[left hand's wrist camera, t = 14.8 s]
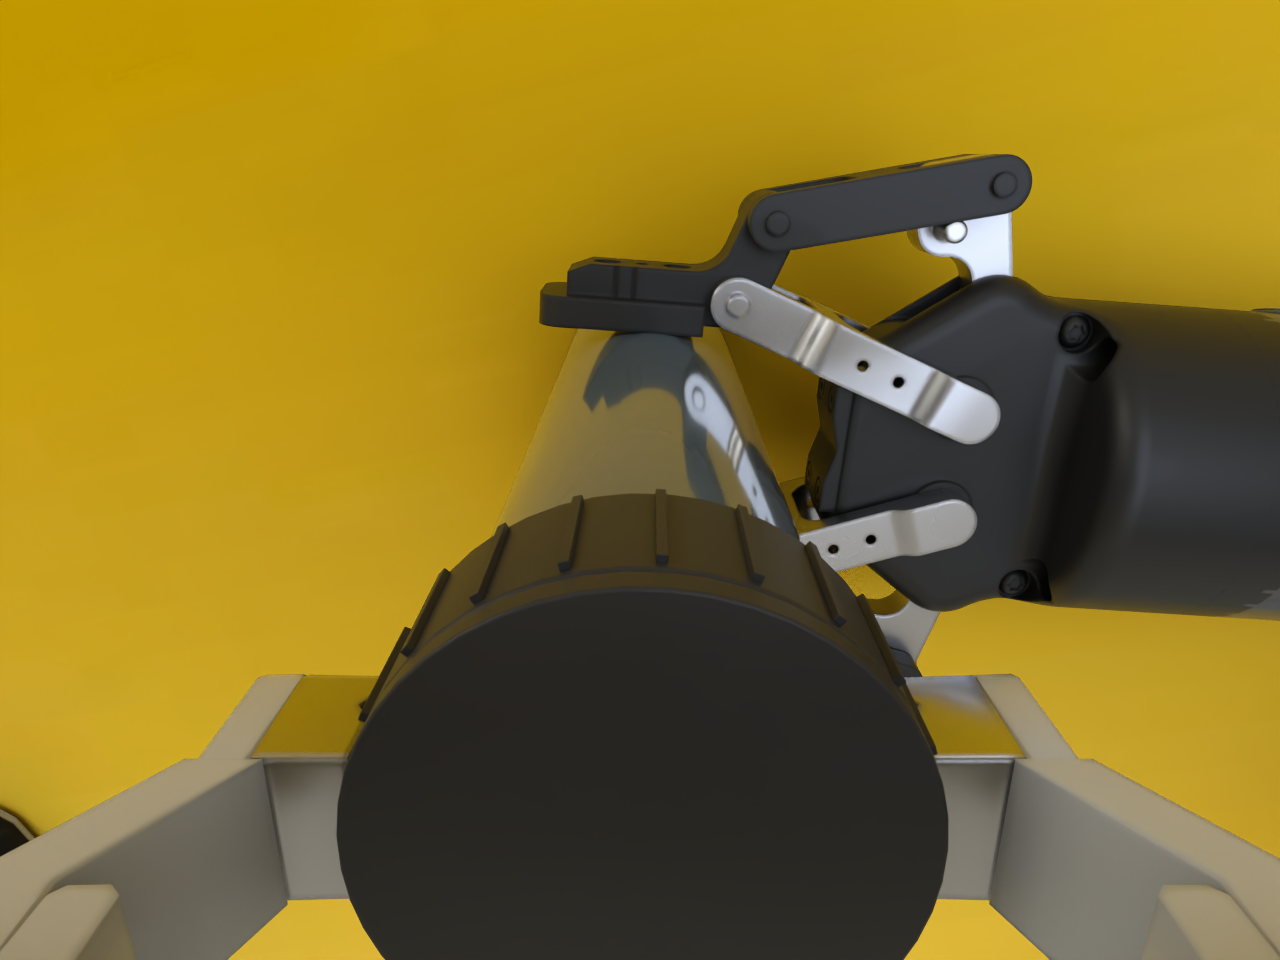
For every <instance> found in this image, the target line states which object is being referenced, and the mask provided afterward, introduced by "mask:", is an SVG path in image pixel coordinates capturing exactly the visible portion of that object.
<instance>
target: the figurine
mask: <svg viewBox="0 0 1280 960" xmlns="http://www.w3.org/2000/svg"><path fill="white" fill-rule="evenodd" d="M33 839H35V838H34V837H33V835H32V834H31V833H30V832H29V831H28V830H27V829H26V828H25V827H24V826H23V824H22V823H21V822H20V821H19V820H18V819H17V818H16V817H14V816H12V815H10V814H8V813H6V812H5V811H3V810H1V809H0V857H1V856H3V855H4V854H6V853H8V852H10V851H12V850H14V849H16V848H18V847H20V846H21V845H23V844H25V843H27V842H29V841H31V840H33Z"/></svg>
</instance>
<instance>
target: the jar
mask: <svg viewBox="0 0 1280 960" xmlns="http://www.w3.org/2000/svg"><path fill="white" fill-rule="evenodd" d="M656 489H665V490H666V494H669V495H676V496H683V497H690V498H698V499H703V500H706V501H710V502H714V503H718V504H721V505H725V506H729V507H732V508H737V505H738V504H739V505H742V506H745V507H747V509H748V513H749V514H750V515H753V516H755V517H758V518H760V519H762V520H765V521H767V522H769V523H771V524H772V525H774V526H776V527H778V528H779V529H781V530H783V531H785V532H786V533H788V534H790V535H792V536H793V537H795V538H797V539H798V540H799V541H801V539H800V536H799V534H798V531H797V528H796V526H795V523H794V520H793V518H792V515H791V513H790V510H789V507H788V505H787V502H786V499H785V497H784V494H783V492H782V489H781V486H780V484H779V481H778V478H777V476H776V473H775V471H774V468H773V465H772V463H771V460H770V457H769V455H768V452H767V450H766V447H765V444H764V442H763V439H762V436H761V434H760V431H759V429H758V426H757V423H756V421H755V418H754V415H753V413H752V410H751V407H750V405H749V402H748V400H747V397H746V394H745V392H744V389H743V386H742V384H741V381H740V379H739V376H738V373H737V371H736V368H735V365H734V363H733V360H732V358H731V355H730V352H729V350H728V347H727V344H726V342H725V339H724V337H723V334H722V332H721V330H720V328H719V327H707V326H704V328H703V337H689V336H675V335H664V334H655V333H633V332H619V331H605V330H591V329H578V330H577V332H576V334H575V336H574V339H573V341H572V343H571V346H570V348H569V351H568V353H567V356H566V358H565V360H564V363H563V365H562V368H561V370H560V372H559V375H558V377H557V380H556V382H555V384H554V387H553V389H552V392H551V394H550V396H549V399H548V401H547V404H546V406H545V408H544V411H543V413H542V416H541V418H540V421H539V423H538V425H537V428H536V430H535V433H534V435H533V437H532V440H531V442H530V445H529V447H528V449H527V452H526V454H525V457H524V459H523V461H522V464H521V466H520V469H519V471H518V474H517V476H516V478H515V481H514V483H513V486H512V488H511V490H510V493H509V495H508V498H507V500H506V502H505V505H504V507H503V510H502V512H501V514H500V517H499V519H498V522H497V524H496V526H495V529H494V531H493V534H492V536H491V537H493V536H494V534H495V532H496V529H497V527H498V526H499V525H501V524H503V523H505V522H506V524H507V525H508V526H509V527H510V526H512V525H513V524H515V523H517V522H519V521H521V520H523V519H525V518H527V517H529V516H532V515H534V514H537V513H540V512H543V511H545V510H548V509H551V508H553V507H556V506H559V505H562V504H567V503H571V502H572V497H573V496H577V495H582V496H583V499H588V498H592V497H600V496H609V495H619V494H628V493H639V494H655V493H656ZM801 542H802V541H801Z"/></svg>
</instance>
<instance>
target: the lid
mask: <svg viewBox="0 0 1280 960" xmlns="http://www.w3.org/2000/svg"><path fill="white" fill-rule="evenodd" d="M358 720H359V721H361V722H364V725H363V727H362V729H361V731H360V733H359V735H358V737H357V739H356V741H355V744H354V746H353V749H352V752H351V754H350V757H349V759H348V762H347V765H346V767H345V770H344V773H343V778H342V783H341V788H340V793H339V798H338V803H337V832H336V837H337V845H338V852H339V860H340V867H341V872H342V875H343V878H344V882H345V885H346V888H347V892H348V895H349V898H350V901H351V903H352V905H353V907H354V909H355V912H356V914H357V916H358V918H359V920H360V922H361V924H362V926H363V928H364V930H365V931H366V933H367V934H368V936H369V937H370V939H371V940H372V942H373V943H374V945H375V947H376V948H377V950H378V951H379V953H380V954H381V955H382V957H383V958H384V959H385V960H904V958H905V957H906V956H907V954H908V953H909V951H910V950H911V949H912V947H913V946H914V945H915V943H916V942H917V940H918V939H919V937H920V935H921V933H922V931H923V929H924V927H925V925H926V923H927V921H928V919H929V918H930V916H931V914H932V912H933V909H934V906H935V903H936V900H937V897H938V894H939V891H940V888H941V885H942V882H943V877H944V871H945V865H946V860H947V854H948V818H949V816H948V810H947V804H946V798H945V792H944V786H943V782H942V779H941V776H940V773H939V770H938V767H937V764H936V761H935V758H934V755H937V754H938V753H937V749H936V745H935V743H934V741H933V739H932V737H931V735H930V733H929V731H928V728H927V726H926V724H925V722H924V720H923V718H922V716H921V714H920V712H919V709H918V707H917V705H916V703H915V701H914V699H913V697H912V695H911V693H910V690H909V688H908V686H907V684H906V680H905V678H904V676H903V674H902V672H901V670H900V667H899V665H898V663H897V661H896V659H895V657H894V655H893V653H892V651H891V649H890V646H889V644H888V642H887V640H886V638H885V636H884V634H883V632H882V630H881V628H880V625H879V623H878V621H877V619H876V617H875V615H874V613H873V611H872V609H871V607H870V604H869V602H868V600H867V599H866V597H865V596H864V594H861V595H859V596H858V597H856V596H855V594H854V593H853V592H852V590H851V589H850V587H849V586H848V585H847V583H846V582H845V581H844V580H843V579H842V578H841V577H840V576H839V575H838V574H837V573H836V572H835V571H834V569H833V568H832V567H831V566H830V565H829V564H828V563H827V562H826V561H825V560H824V559H823V558H822V557H821V555H820V553H819V550H818V548H817V546H816V545H815V544H813V543H812V542H811V541H809V542H808V543H807V544H806V545H805V544H803V543H802V542H801V541H799V540H798V539H797V538H795V537H793V536H792V535H790V534H788V533H786V532H785V531H783V530H781V529H779V528H778V527H776V526H774V525H772V524H771V523H769V522H767V521H765V520H762V519H760V518H758V517H755V516H753V515H750V514H749V513H748V509H747V507H745V506H742V505H739V504H738V505H737V508H732V507H729V506H725V505H721V504H718V503H714V502H710V501H706V500H703V499H698V498H690V497H683V496H676V495H669V494H666V490H665V489H656V493H655V494H639V493H628V494H619V495H609V496H600V497H592V498H588V499H583V496H582V495H577V496H573V497H572V502H571V503H567V504H562V505H559V506H556V507H553V508H551V509H548V510H545V511H543V512H540V513H537V514H534V515H532V516H529V517H527V518H525V519H523V520H521V521H519V522H517V523H515V524H513V525H512V526H510V527H509V526H508V525H507V524H506V522H505V523H503V524H501V525H499V526H498V527H497V529H496V532H495V534H494V536H493V537H491V538H490V539H488V540H487V541H485V542H484V543H483V544H481V545H480V546H478V547H477V548H476V549H474V550H473V551H471V552H470V553H469V554H468V555H467V556H466V557H465V558H464V559H463V560H462V561H461V562H460V563H459V564H458V565H457V566H455V567H454V568H453V569H452V570H451V571H450V572H449V571H448V570H447V569H445V568H444V569H443V570H442V571H441V572H440V574H439V575H438V577H437V579H436V581H435V583H434V585H433V587H432V589H431V591H430V593H429V595H428V597H427V599H426V601H425V603H424V605H423V607H422V609H421V611H420V613H419V615H418V617H417V619H416V621H415V623H414V625H413V627H412V629H410V628H407V627H404V629H403V631H402V633H401V635H400V637H399V639H398V641H397V643H396V645H395V647H394V649H393V651H392V652H391V654H390V656H389V658H388V660H387V662H386V664H385V666H384V668H383V670H382V672H381V674H380V676H379V678H378V680H377V681H376V683H375V685H374V687H373V689H372V691H371V693H370V695H369V697H368V699H367V701H366V703H365V705H364V707H363V708H362V710H361V712H360V715H359V717H358Z"/></svg>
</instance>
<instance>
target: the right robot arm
mask: <svg viewBox="0 0 1280 960" xmlns="http://www.w3.org/2000/svg"><path fill="white" fill-rule="evenodd" d="M1031 186H1032V175H1031V171H1030V168H1029V167H1028V165H1027V164H1026V162H1025V161H1024V160H1022V159H1021V158H1019V157H1017V156H1014V155H1008V154H962V155H957V156H951V157H945V158H939V159H934V160H928V161H922V162H916V163H911V164H905V165H899V166H893V167H887V168H882V169H876V170H870V171H864V172H859V173H853V174H847V175H841V176H835V177H830V178H824V179H818V180H812V181H807V182H801V183H795V184H789V185H783V186H778V187H772V188H766V189H760V190H757V191H754V192H752V193H750V194H749V195H748V196H747V197H746V198H745V199H744V200H743V201H742V203H741V205H740V207H739V211H738V217H737V220H736V222H735V224H734V226H733V228H732V230H731V232H730V235H729V237H728V239H727V241H726V243H725V245H724V247H723V248H722V250H721V251H720V252H719V253H718V254H717V255H716V256H715V257H714V258H712V259H711V260H709V261H707V262H704V263H700V264H685V263H671V262H657V261H644V260H630V259H616V258H603V257H592V258H589V259H586V260H583V261H580V262H576V263H573V264H572V265H571V267H570V268H569V270H568V275H567V282H552V283H546V284H545V286H544V287H543V289H542V290H541V291H540V318H539V322H540V323H541V324H543V325H547V326H552V327H563V328H577V329H591V330H605V331H619V332H633V333H655V334H664V335H675V336H689V337H703V328H704V326H707V327H721V328H723V329H725V330H726V331H729V332H731V333H733V334H735V335H737V336H740V337H742V338H744V339H746V340H748V341H750V342H753V343H755V344H757V345H759V346H761V347H764V348H766V349H768V350H770V351H772V352H774V353H777V354H779V355H781V356H783V357H785V358H787V359H789V360H791V361H793V362H795V363H796V364H798V365H799V366H801V367H802V368H804V369H806V370H808V371H809V372H811V373H813V374H815V375H817V376H819V384H818V391H817V402H818V410H819V417H820V429H819V431H818V434H817V436H816V438H815V441H814V443H813V445H812V448H811V450H810V452H809V454H808V460H807V467H806V474H805V477H801V478H798V479H794V480H790V481H786V482H783V483H779V484H780V486H781V489H782V492H783V494H784V497H785V499H786V502H787V505H788V507H789V510H790V513H791V515H792V518H793V520H794V523H795V526H796V528H797V531H798V534H799V536H800V539H801V541H802V543H803V544H805V545H806V544H807V543H808V542H809V541H811V542H812V543H813V544H815V545H816V546H817V548H818V550H819V553H820V555H821V557H822V558H823V559H824V560H825V561H826V562H827V563H828V564H829V565H830V566H831V567H832V568H833V569H834V571H835V572H838V571H842V570H846V569H850V568H854V567H858V566H862V565H865V564H866V565H867V566H868V567H870V568H871V569H872V570H873V571H874V572H876V573H877V574H878V575H879V576H881V577H882V578H883V579H884V580H885V581H887V582H888V583H889V584H890V585H892V586H893V587H894V588H895V589H896V590H895V591H894V592H893V593H892V594H891V595H889V596H887V597H885V598H882V599H868V598H866V599H867V600H868V602H869V604H870V607H871V609H872V611H873V613H874V615H875V617H876V619H877V621H878V623H879V625H880V628H881V630H882V632H883V634H884V636H885V638H886V640H887V642H888V644H889V646H890V649H891V651H892V653H893V655H894V657H895V659H896V661H897V663H898V665H899V667H900V670H901V672H902V674H903V676H904V677H922V675H921V673H920V671H919V669H918V667H917V665H916V661H917V658H918V656H919V654H920V652H921V650H922V648H923V646H924V644H925V642H926V640H927V638H928V636H929V634H930V632H931V630H932V628H933V625H934V623H935V621H936V619H937V617H938V615H939V613H940V612H946V611H952V610H957V609H959V608H962V607H965V606H967V605H969V604H972V603H975V602H978V601H982V600H986V599H991V598H1009V599H1015V600H1020V601H1025V602H1030V603H1035V604H1041V605H1047V606H1055V607H1070V608H1086V609H1102V610H1117V611H1133V612H1149V613H1165V614H1182V615H1198V616H1213V617H1230V618H1245V619H1260V620H1275V621H1280V309H1253V310H1252V311H1237V310H1224V309H1210V308H1196V307H1182V306H1168V305H1155V304H1141V303H1127V302H1113V301H1099V300H1085V299H1071V298H1057V297H1051V296H1045V295H1044V294H1042V293H1040V292H1039V291H1037V290H1036V289H1035V288H1034V287H1032V286H1031V285H1030V284H1028V283H1027V282H1025V281H1023V280H1022V279H1019V278H1017V277H1013V265H1012V213H1011V212H1012V211H1014V210H1016V209H1017V208H1019V207H1020V206H1021V205H1022V204H1023V203H1024V202H1025V200H1026V199H1027V197H1028V195H1029V193H1030V190H1031ZM902 231H907V235H908V238H909V240H910V242H911V243H912V245H913V246H914V247H915V248H917V249H919V250H920V251H923V252H926V253H929V254H932V255H934V256H939V257H950V258H951V259H952V260H953V261H954V262H955V264H956V266H957V268H958V272H959V276H957V277H955V278H954V279H952V280H950V281H948V282H947V283H945V284H943V285H942V286H940V287H938V288H937V289H935V290H933V291H931V292H930V293H928V294H926V295H925V296H923V297H921V298H919V299H918V300H916V301H914V302H913V303H911V304H909V305H908V306H906V307H904V308H902V309H901V310H899V311H897V312H896V313H894V314H892V315H890V316H889V317H887V318H885V319H884V320H882V321H880V322H879V323H877V324H875V325H873V326H872V327H869V326H867V325H865V324H863V323H861V322H858V321H856V320H854V319H852V318H850V317H848V316H846V315H844V314H841V313H839V312H837V311H835V310H833V309H831V308H829V307H827V306H824V305H822V304H820V303H818V302H816V301H814V300H812V299H809V298H807V297H804V296H801V295H798V294H796V293H794V292H792V291H790V290H787V289H785V288H783V287H781V286H779V285H777V284H775V281H776V279H777V277H778V274H779V272H780V270H781V268H782V266H783V264H784V262H785V260H786V258H787V256H788V254H789V252H790V250H795V249H801V248H807V247H813V246H819V245H825V244H831V243H837V242H843V241H849V240H855V239H861V238H866V237H872V236H878V235H884V234H890V233H896V232H902ZM810 499H811V500H810ZM808 500H810V501H808Z"/></svg>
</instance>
